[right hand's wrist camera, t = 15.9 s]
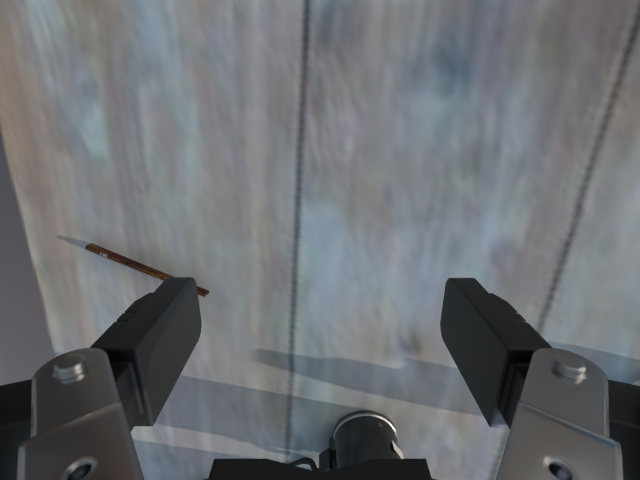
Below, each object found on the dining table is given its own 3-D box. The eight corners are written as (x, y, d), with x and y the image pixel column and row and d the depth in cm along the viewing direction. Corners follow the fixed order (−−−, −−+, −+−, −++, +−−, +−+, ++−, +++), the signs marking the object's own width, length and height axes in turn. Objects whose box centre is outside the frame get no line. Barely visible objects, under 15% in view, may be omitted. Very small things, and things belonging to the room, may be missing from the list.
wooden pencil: (209, 290, 44) (207, 294, 43) (208, 293, 44) (205, 297, 43) (90, 242, 42) (85, 245, 41) (89, 245, 42) (84, 249, 41)
